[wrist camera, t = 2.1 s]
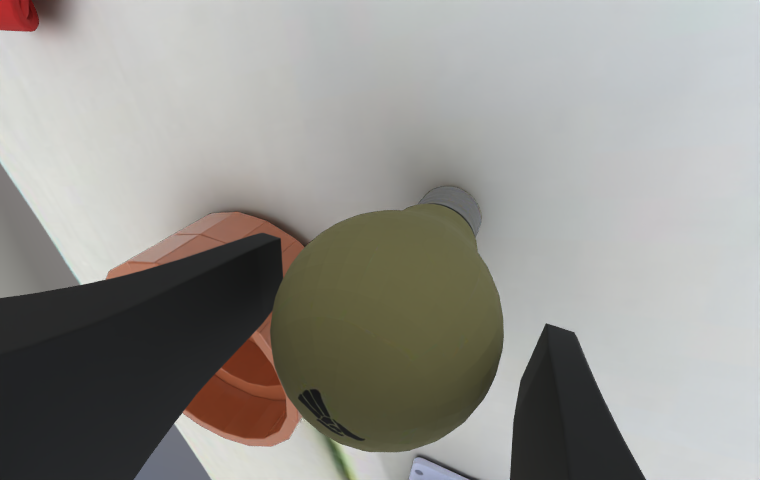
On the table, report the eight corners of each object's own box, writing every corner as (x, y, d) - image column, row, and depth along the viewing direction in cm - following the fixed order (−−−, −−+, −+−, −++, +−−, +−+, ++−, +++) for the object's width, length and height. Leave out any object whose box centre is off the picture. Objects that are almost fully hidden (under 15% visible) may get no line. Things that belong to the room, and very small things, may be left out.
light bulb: (373, 234, 17) (213, 421, 10) (409, 115, 14) (211, 247, 6) (489, 288, 16) (420, 548, 8) (556, 173, 13) (544, 418, 5)
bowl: (348, 392, 24) (300, 477, 20) (205, 331, 27) (135, 393, 23) (358, 242, 18) (293, 316, 14) (173, 185, 21) (70, 230, 17)
